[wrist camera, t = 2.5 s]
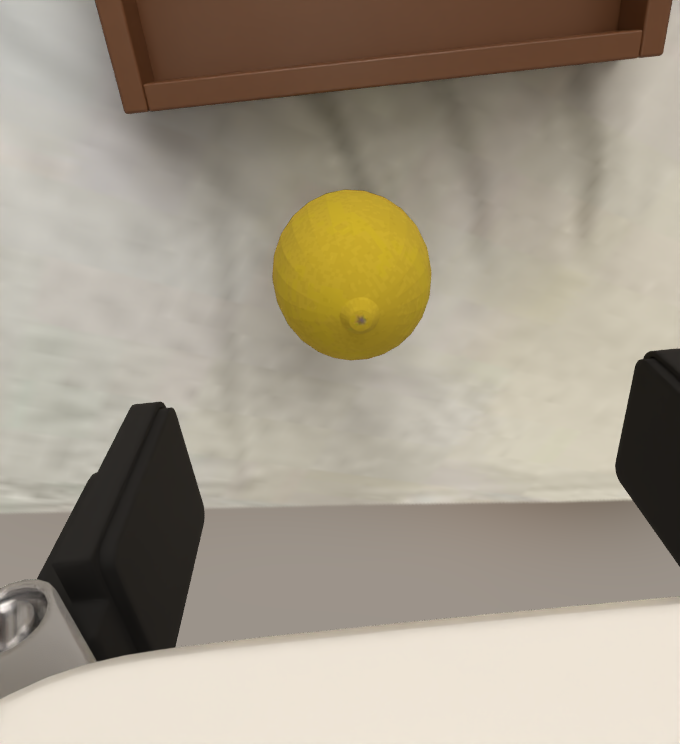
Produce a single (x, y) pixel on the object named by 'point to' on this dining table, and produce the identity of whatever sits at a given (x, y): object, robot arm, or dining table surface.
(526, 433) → the dining table surface
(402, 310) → the lemon
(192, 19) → the tray
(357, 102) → the dining table surface
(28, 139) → the dining table surface
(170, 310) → the dining table surface
